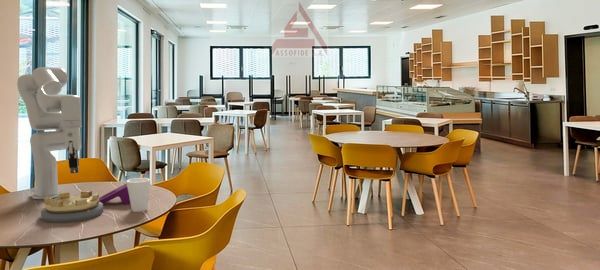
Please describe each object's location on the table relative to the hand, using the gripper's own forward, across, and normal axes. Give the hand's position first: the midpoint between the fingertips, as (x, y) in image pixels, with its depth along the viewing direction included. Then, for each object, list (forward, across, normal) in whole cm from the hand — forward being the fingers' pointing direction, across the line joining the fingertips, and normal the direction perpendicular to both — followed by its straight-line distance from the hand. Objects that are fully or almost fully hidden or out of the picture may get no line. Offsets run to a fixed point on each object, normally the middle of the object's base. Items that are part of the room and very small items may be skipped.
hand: (74, 166), depth 191 cm
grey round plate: (+19, -9, 0) cm, 21 cm away
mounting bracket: (+19, +6, -16) cm, 26 cm away
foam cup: (+19, -10, -26) cm, 34 cm away
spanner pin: (+3, 0, 0) cm, 3 cm away
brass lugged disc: (+16, -9, 0) cm, 18 cm away
